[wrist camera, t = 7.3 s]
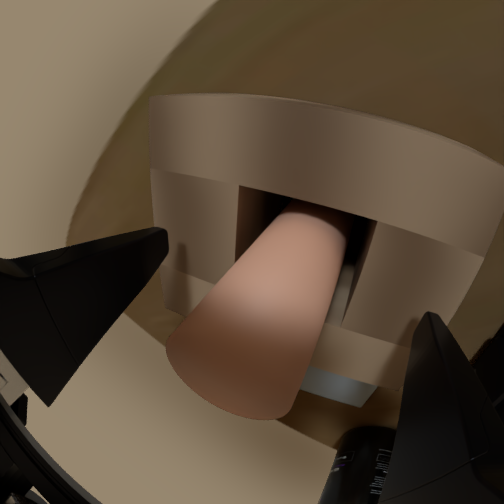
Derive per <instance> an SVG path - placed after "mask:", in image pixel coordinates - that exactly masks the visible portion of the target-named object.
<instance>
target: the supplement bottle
mask: <svg viewBox="0 0 504 504" xmlns="http://www.w3.org/2000/svg"><path fill="white" fill-rule="evenodd" d="M396 432H397V431H396V430H393V429H390V428H384V427H362V428H357V429H353V430H351V431H349V432H347V433H346V434H345V435H344V436H343V437H342V439H341V442H340V445H339V448H338V450H337V454H336V457H335V460H334V463H333V465H332V468H331V471H330V474H329V476H328V479H327V482H326V484H325V487H324V489H323V492H322V494H321V497H320V499H319V502H318V504H378V503H379V498H380V495H381V492H382V489H383V485H384V482H385V479H386V475H387V471H388V467H389V463H390V459H391V455H392V451H393V446H394V442H395V437H396Z"/></svg>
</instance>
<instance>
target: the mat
mask: <svg viewBox="0 0 504 504" xmlns="http://www.w3.org/2000/svg"><path fill="white" fill-rule="evenodd" d="M377 387H378V386H376V385H372V384H369V383H365V382H361V381H358V380H354V379H351V378H347V377H344V376H341V375H337V374H334V373H331V372H328V371H325V370H322V369H318V368H315V367H312V366H308V368H307V371H306V373H305V376H304V378H303V381H302V384H301V386H300V388H299V389H301V390H304V391H307V392H310V393H313V394H316V395H319V396H322V397H325V398H329V399H332V400H335V401H339V402H342V403H346V404H349V405H353V406H356V407H360V408H361V407H362V406H363V404H364V403H365V402H366V401H367V399H368V398H369V397H370V396H371V394H372V393H373V392H374V391H375V389H376V388H377Z"/></svg>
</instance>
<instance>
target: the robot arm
mask: <svg viewBox="0 0 504 504" xmlns="http://www.w3.org/2000/svg"><path fill="white" fill-rule="evenodd" d="M168 253H169V240H168V232H167V230H166V229H164V228H161V227H152V228H147V229H142V230H137V231H133V232H128V233H124V234H119V235H115V236H110V237H106V238H101V239H97V240H93V241H89V242H84V243H80V244H76V245H72V246H71V247H70V246H68V247H64V248H60V249H56V250H51V251H47V252H42V253H38V254H33V255H28V256H23V257H18V258H13V259H3V258H0V504H47V503H46V502H45V501H44V500H43V499H42V498H41V497H40V496H38V495H37V494H36V493H34V492H33V491H31V490H30V489H31V488H32V486H34V487H35V488H36V489H37V490H38V492H40V494H41V495H42V496H43V497H44V498H45V499H46V500H47V501H48V502H49V503H50V504H102V503H101V502H99V501H98V500H97V499H96V498H94V497H93V496H92V495H91V494H90V493H89V492H87V491H86V490H85V489H84V488H83V487H82V486H81V485H79V484H78V483H77V482H76V481H75V480H74V479H73V478H72V477H71V476H70V475H69V474H67V473H66V472H65V471H64V470H63V469H62V468H61V467H60V466H59V465H58V464H57V463H56V462H55V461H54V460H53V459H52V457H51V456H50V455H49V454H48V453H47V452H46V451H45V450H44V449H43V448H42V447H41V445H40V444H39V443H38V442H37V441H36V440H35V438H34V437H33V436H32V435H31V434H30V432H29V431H28V430H27V429H26V427H25V425H26V420H27V402H28V397H27V396H26V395H25V394H24V391H26V390H27V389H28V388H29V387H30V388H31V389H32V390H33V391H34V392H35V394H36V395H37V396H38V397H39V398H40V399H41V400H42V401H43V402H44V403H45V404H46V406H47V407H49V406H51V404H52V403H53V402H54V400H55V399H56V397H57V396H58V394H59V393H60V392H61V391H62V389H63V388H64V386H65V385H66V384H67V383H68V381H69V380H70V378H71V377H72V376H73V374H74V373H75V372H76V371H77V369H78V368H79V366H80V365H81V364H82V362H83V361H84V360H85V359H86V357H87V356H88V355H89V353H90V352H91V351H92V349H93V348H94V347H95V346H96V345H97V343H98V342H99V341H100V340H101V338H102V337H103V336H104V334H105V333H106V332H107V331H108V330H109V328H110V327H111V326H112V325H113V323H114V322H115V321H116V320H117V319H118V317H119V316H120V315H121V314H122V313H123V311H124V310H125V309H126V308H127V307H128V306H129V304H130V303H131V302H132V301H133V300H134V298H135V297H136V296H137V295H138V294H139V293H140V292H141V290H142V289H143V288H144V287H145V286H146V284H147V283H148V282H149V280H150V279H151V277H152V276H153V275H154V273H155V272H156V270H157V269H158V268H159V266H160V265H161V263H162V262H163V261H164V259H165V258H166V257H167V255H168ZM378 504H504V326H503V328H502V329H501V331H500V332H499V333H498V335H497V336H496V337H495V339H494V340H493V341H492V343H491V344H490V345H489V347H488V348H487V349H486V351H485V352H484V353H483V354H482V356H481V357H480V358H479V359H478V360H477V362H476V363H475V364H474V365H473V366H471V364H470V362H469V361H468V359H467V357H466V356H465V354H464V353H463V351H462V349H461V348H460V346H459V345H458V343H457V341H456V340H455V338H454V337H453V335H452V334H451V332H450V331H449V329H448V328H447V326H446V325H445V323H444V322H443V320H442V319H441V317H440V316H439V315H438V314H437V313H433V312H430V311H427V312H426V313H425V314H424V315H423V317H422V319H421V320H420V322H419V324H418V325H417V327H416V329H415V331H414V333H413V337H412V343H411V349H410V354H409V359H408V364H407V369H406V374H405V379H404V387H403V395H402V402H401V409H400V415H399V421H398V426H397V432H396V437H395V442H394V446H393V451H392V455H391V459H390V463H389V467H388V471H387V475H386V479H385V482H384V485H383V489H382V492H381V495H380V498H379V503H378Z"/></svg>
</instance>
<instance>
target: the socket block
mask: <svg viewBox="0 0 504 504" xmlns="http://www.w3.org/2000/svg"><path fill="white" fill-rule="evenodd" d="M149 152H150V175H151V191H152V204H153V216H154V227H161V228H164V229H166V230H167V232H168V240H169V253H168V255H167V257H166V258H165V259H164V261H163V262H162V263H161V265H160V266H159V269H160V276H161V283H162V290H163V296H164V302H165V308H167V309H169V310H171V311H174V312H176V313H178V314H180V315H182V316H184V317H187V316H188V315H189V314H190V313H191V312H192V311H193V309H194V308H195V307H196V306H197V305H198V304H199V303H200V302H201V301H202V299H203V298H204V297H205V296H206V295H207V294H208V293H209V292H210V290H211V289H212V288H213V287H214V286H215V285H216V284H217V283H218V282H219V280H220V279H221V278H222V277H223V276H224V275H225V274H226V273H227V272H228V270H229V269H230V268H231V267H232V266H233V265H234V264H235V263H236V262H237V260H238V259H239V258H240V257H241V256H242V255H243V254H244V253H245V252H246V250H247V249H248V248H249V247H250V246H251V245H252V244H253V243H254V242H255V240H256V239H257V238H258V237H259V236H260V235H261V234H262V233H263V232H264V230H265V229H266V228H267V227H268V226H269V225H270V224H271V223H272V222H273V221H274V219H275V218H276V217H277V216H278V215H279V212H280V205H281V197H282V195H284V196H288V197H292V198H296V199H300V200H304V201H308V202H312V203H316V204H320V205H324V206H327V207H331V208H335V209H338V210H342V211H345V212H349V213H352V214H356V215H359V216H363V217H366V218H369V219H368V223H367V226H366V230H365V233H364V237H363V240H362V243H361V247H360V250H359V253H358V256H357V260H352V259H349V258H346V257H344V260H343V263H342V267H341V270H340V274H339V277H338V281H337V284H336V287H335V290H334V294H333V297H332V300H331V303H330V306H329V309H328V312H327V315H326V318H325V321H324V324H323V327H322V330H321V333H320V336H319V339H318V341H317V344H316V347H315V350H314V352H313V355H312V358H311V360H310V363H309V366H312V367H315V368H318V369H322V370H325V371H328V372H331V373H334V374H337V375H341V376H344V377H347V378H351V379H354V380H358V381H361V382H365V383H369V384H372V385H376V386H380V387H383V388H387V389H391V390H395V391H399V389H400V388H401V387H402V386H403V385H404V379H405V374H406V369H407V364H408V359H409V354H410V349H411V343H412V337H413V333H414V331H415V329H416V327H417V325H418V324H419V322H420V320H421V319H422V317H423V315H424V314H425V313H426V312H427V311H430V312H433V313H437V314H438V315H439V316H440V317H441V319H442V320H443V322H444V323H445V325H446V326H447V325H448V323H449V322H450V320H451V319H452V317H453V315H454V314H455V312H456V310H457V309H458V307H459V305H460V304H461V302H462V300H463V298H464V297H465V295H466V293H467V291H468V290H469V288H470V286H471V284H472V282H473V280H474V278H475V276H476V274H477V272H478V270H479V268H480V266H481V264H482V262H483V260H484V258H485V256H486V254H487V251H488V249H489V247H490V245H491V242H492V240H493V238H494V235H495V233H496V230H497V228H498V225H499V223H500V220H501V217H502V215H503V212H504V166H503V165H501V164H500V163H498V162H496V161H494V160H493V159H491V158H489V157H487V156H486V155H484V154H482V153H480V152H478V151H476V150H474V149H473V148H471V147H469V146H466V145H464V144H461V143H459V142H457V141H454V140H452V139H449V138H446V137H444V136H441V135H438V134H436V133H433V132H430V131H427V130H424V129H421V128H418V127H415V126H412V125H409V124H406V123H402V122H399V121H395V120H392V119H388V118H385V117H381V116H377V115H373V114H369V113H365V112H361V111H357V110H352V109H348V108H343V107H338V106H333V105H328V104H322V103H316V102H310V101H304V100H297V99H289V98H281V97H273V96H263V95H251V94H236V93H191V94H174V95H162V96H151V97H149Z"/></svg>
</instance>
